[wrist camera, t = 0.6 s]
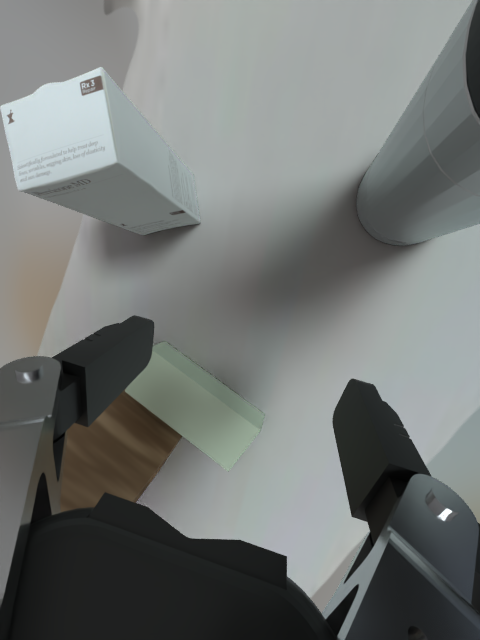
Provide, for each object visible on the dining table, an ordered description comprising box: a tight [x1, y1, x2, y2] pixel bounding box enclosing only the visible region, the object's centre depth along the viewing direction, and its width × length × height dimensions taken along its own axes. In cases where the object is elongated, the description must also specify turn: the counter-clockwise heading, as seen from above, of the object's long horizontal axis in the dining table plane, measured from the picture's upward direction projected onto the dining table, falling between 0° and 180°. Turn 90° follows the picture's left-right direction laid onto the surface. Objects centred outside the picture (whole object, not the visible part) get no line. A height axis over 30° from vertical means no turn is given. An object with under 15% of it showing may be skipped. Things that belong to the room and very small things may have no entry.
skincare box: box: [0, 67, 200, 235], centre depth 23 cm, size 8×6×15 cm
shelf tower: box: [61, 389, 182, 512], centre depth 21 cm, size 9×15×32 cm, turn 57°
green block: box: [125, 341, 265, 472], centre depth 31 cm, size 7×16×4 cm, turn 57°
